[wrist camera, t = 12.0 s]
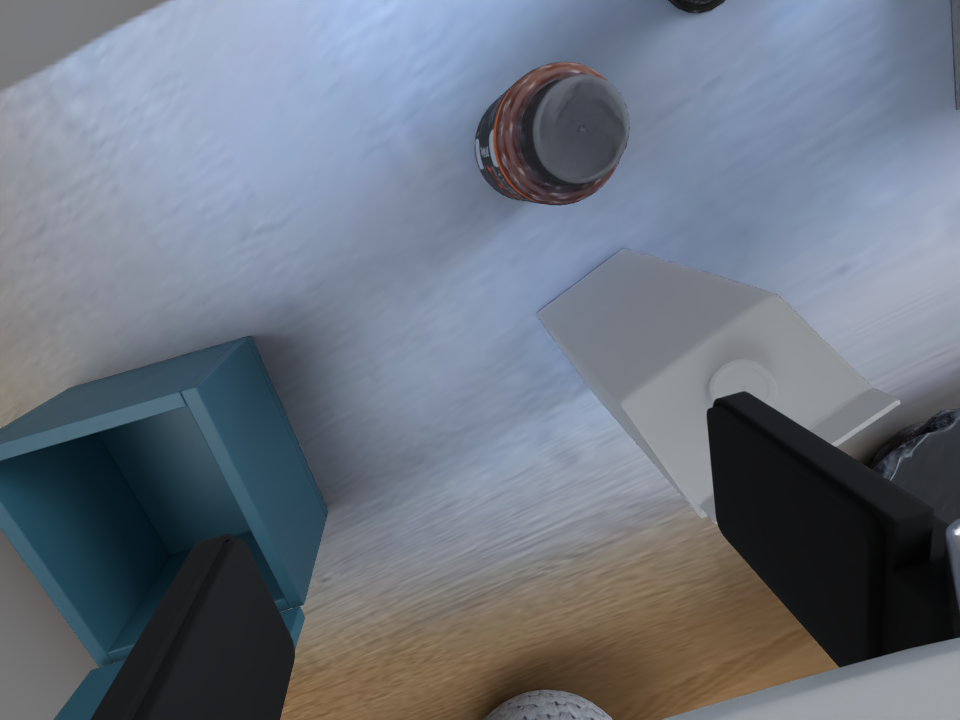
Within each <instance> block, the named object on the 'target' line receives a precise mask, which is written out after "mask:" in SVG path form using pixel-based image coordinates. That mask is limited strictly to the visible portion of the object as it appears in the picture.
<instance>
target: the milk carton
mask: <svg viewBox="0 0 960 720" xmlns="http://www.w3.org/2000/svg"><path fill="white" fill-rule="evenodd" d="M537 317H538V318H539V320H540V321H541V323H542V324H543V325H544V327H545V328H546V329H547V331H548V332H549V334H550V335H551V336H552V338H553V339H554V340H555V342H556V343H557V345H558V346H559V347H560V349H561V350H562V351H563V353H564V354H565V356H566V357H567V358H568V360H569V361H570V362H571V364H572V365H573V367H574V368H575V369H576V371H577V372H578V373H579V375H580V376H581V378H582V379H583V380H584V382H585V383H586V384H587V386H588V387H589V389H590V390H591V391H592V393H593V394H594V395H595V396H596V397H597V398H598V399H599V401H600V402H601V403H602V404H603V405H604V406H605V408H606V409H607V410H608V411H609V412H610V413H611V415H612V416H613V417H614V418H615V419H616V420H617V422H618V423H619V424H620V425H621V426H622V427H623V428H624V430H625V431H626V432H627V433H628V434H629V435H630V437H631V438H632V439H633V440H634V441H635V442H636V444H637V445H638V446H639V447H640V448H641V449H642V451H643V452H644V453H645V454H646V455H647V456H648V457H649V459H650V460H651V461H652V462H653V463H654V464H655V466H656V467H657V468H658V469H659V470H660V471H661V473H662V474H663V475H664V476H665V477H666V478H667V480H668V481H669V482H670V483H671V484H672V485H673V486H674V488H675V489H676V490H677V491H678V492H679V493H680V495H681V496H682V497H683V498H684V499H685V500H686V502H687V503H688V504H689V505H690V506H691V507H692V508H693V510H694V511H695V512H696V513H697V514H698V515H699V517H700V518H701V519H702V518H704V517H705V516H707V515H708V516H709V517H710V519H711V520H712V521H713V522H714V523H715V524H716V525H718V524H717V521H716V514H715V503H714V492H713V481H712V471H711V460H710V449H709V438H708V427H707V410H708V409H709V408H712V407H713V403H714V400H715V399H717V398H720V397H724V396H728V395H731V394H735V393H738V392H743V391H746V392H748V393H750V394H752V395H753V396H755V397H756V398H758V399H760V400H761V401H763V402H764V403H766V404H768V405H769V406H771V407H772V408H774V409H776V410H777V411H779V412H780V413H782V414H784V415H785V416H787V417H788V418H790V419H792V420H793V421H795V422H796V423H798V424H800V425H801V426H803V427H804V428H806V429H808V430H809V431H811V432H812V433H814V434H816V435H817V436H819V437H820V438H822V439H824V440H825V441H827V442H828V443H830V444H832V445H833V446H835V447H837V446H838V445H840V444H841V443H843V442H844V441H846V440H847V439H849V438H850V437H852V436H853V435H855V434H856V433H858V432H859V431H861V430H862V429H864V428H865V427H867V426H868V425H870V424H871V423H873V422H874V421H876V420H877V419H879V418H880V417H882V416H883V415H885V414H886V413H888V412H889V411H891V410H892V409H894V408H895V407H897V406H898V405H900V401H899V399H898V398H896V397H894V396H891V395H889V394H887V393H885V392H882V391H880V390H878V389H875V388H873V387H872V386H871V385H870V384H869V383H868V382H867V381H866V380H865V379H864V378H863V377H862V376H861V375H860V374H859V373H858V372H857V371H856V370H855V369H854V368H853V367H852V366H851V365H850V364H849V363H848V362H847V361H845V360H844V359H843V358H842V357H841V356H840V355H839V354H838V353H837V352H836V351H835V350H834V349H833V348H832V347H831V346H830V345H829V344H828V343H827V342H826V341H825V340H824V339H823V338H822V337H821V336H820V335H819V334H818V333H817V332H816V331H815V330H814V329H813V328H812V327H811V326H810V325H809V324H808V323H807V322H806V321H805V320H803V319H802V318H801V317H800V316H799V315H798V314H797V313H796V312H795V311H794V310H793V309H792V308H791V307H790V306H789V305H788V304H787V303H786V302H785V301H784V300H783V299H782V298H781V297H780V296H779V295H778V294H774V293H771V292H769V291H766V290H763V289H759V288H756V287H753V286H750V285H746V284H743V283H740V282H736V281H733V280H730V279H726V278H723V277H720V276H716V275H713V274H710V273H706V272H703V271H700V270H696V269H693V268H690V267H686V266H683V265H680V264H676V263H673V262H670V261H666V260H663V259H660V258H656V257H653V256H650V255H646V254H643V253H640V252H636V251H633V250H630V249H626V248H624V249H622V250H620V251H619V252H617V253H616V254H614V255H613V256H612V257H610V258H609V259H608V260H606V261H605V262H604V263H602V264H601V265H600V266H598V267H597V268H596V269H594V270H593V271H592V272H590V273H589V274H588V275H586V276H585V277H584V278H582V279H581V280H580V281H578V282H577V283H576V284H574V285H573V286H572V287H570V288H569V289H568V290H566V291H565V292H564V293H562V294H561V295H560V296H558V297H557V298H556V299H554V300H553V301H552V302H550V303H549V304H548V305H546V306H545V307H544V308H542V309H541V310H540V311H539V312H538V313H537Z"/></svg>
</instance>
